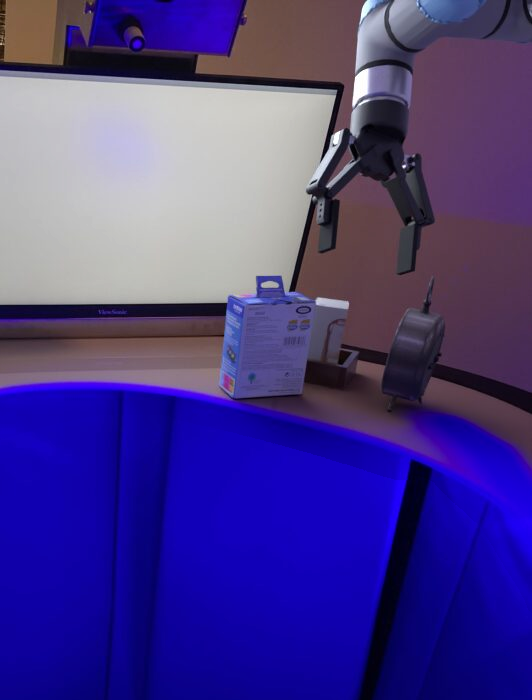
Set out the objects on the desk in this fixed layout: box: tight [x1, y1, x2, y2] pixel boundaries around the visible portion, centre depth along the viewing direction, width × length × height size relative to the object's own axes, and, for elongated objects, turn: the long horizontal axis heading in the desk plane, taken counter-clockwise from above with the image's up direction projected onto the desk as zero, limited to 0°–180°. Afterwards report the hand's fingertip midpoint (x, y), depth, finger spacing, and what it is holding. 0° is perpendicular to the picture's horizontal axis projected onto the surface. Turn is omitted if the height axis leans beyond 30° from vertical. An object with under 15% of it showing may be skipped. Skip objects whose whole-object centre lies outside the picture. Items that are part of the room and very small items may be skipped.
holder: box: [304, 347, 360, 390], centre depth 115 cm, size 8×8×3 cm
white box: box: [307, 296, 350, 364], centre depth 114 cm, size 5×4×10 cm
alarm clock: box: [380, 276, 446, 413], centre depth 103 cm, size 11×5×16 cm, turn 149°
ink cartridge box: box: [218, 275, 316, 399], centre depth 106 cm, size 10×6×14 cm, turn 106°
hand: (366, 262), depth 114 cm, fingers open, 13 cm apart
